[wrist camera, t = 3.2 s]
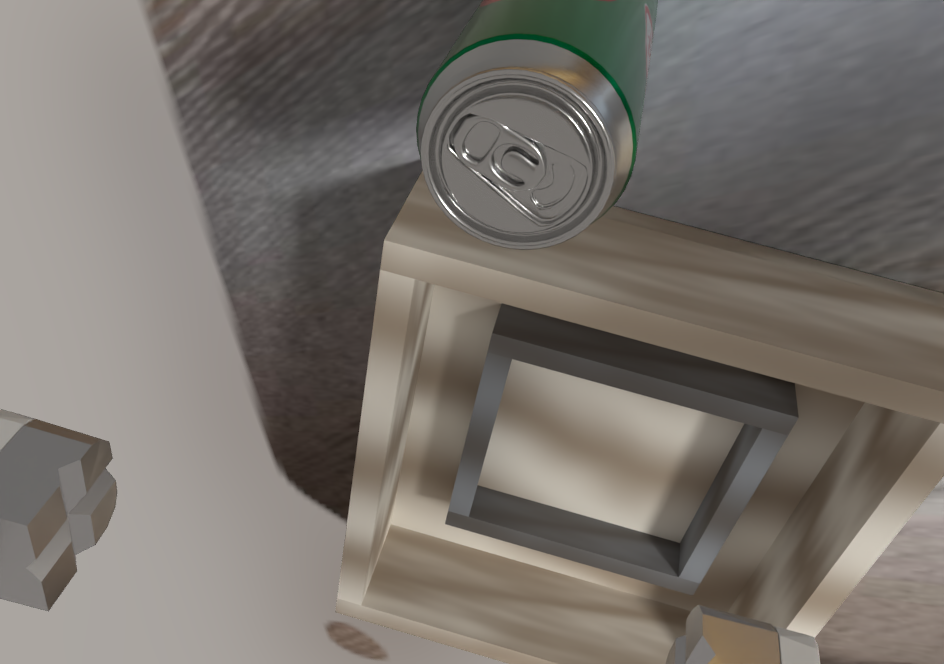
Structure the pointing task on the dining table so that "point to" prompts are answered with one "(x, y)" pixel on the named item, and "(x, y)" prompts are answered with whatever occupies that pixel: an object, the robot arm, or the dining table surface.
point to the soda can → (537, 117)
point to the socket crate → (629, 436)
